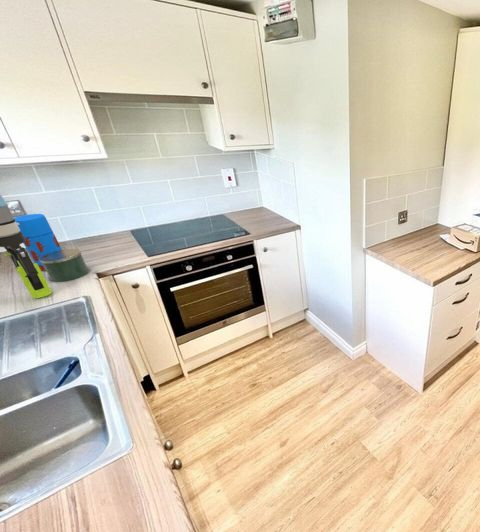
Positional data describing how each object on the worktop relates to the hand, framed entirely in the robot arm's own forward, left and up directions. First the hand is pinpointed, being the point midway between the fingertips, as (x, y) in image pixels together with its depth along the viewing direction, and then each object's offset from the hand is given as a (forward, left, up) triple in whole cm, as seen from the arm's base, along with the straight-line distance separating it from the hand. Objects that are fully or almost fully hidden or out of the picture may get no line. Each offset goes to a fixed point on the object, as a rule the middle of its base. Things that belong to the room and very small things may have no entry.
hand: (36, 286), depth 131 cm
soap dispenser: (0, 0, -4) cm, 4 cm away
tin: (+14, +14, -5) cm, 21 cm away
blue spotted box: (+14, +32, -5) cm, 35 cm away
